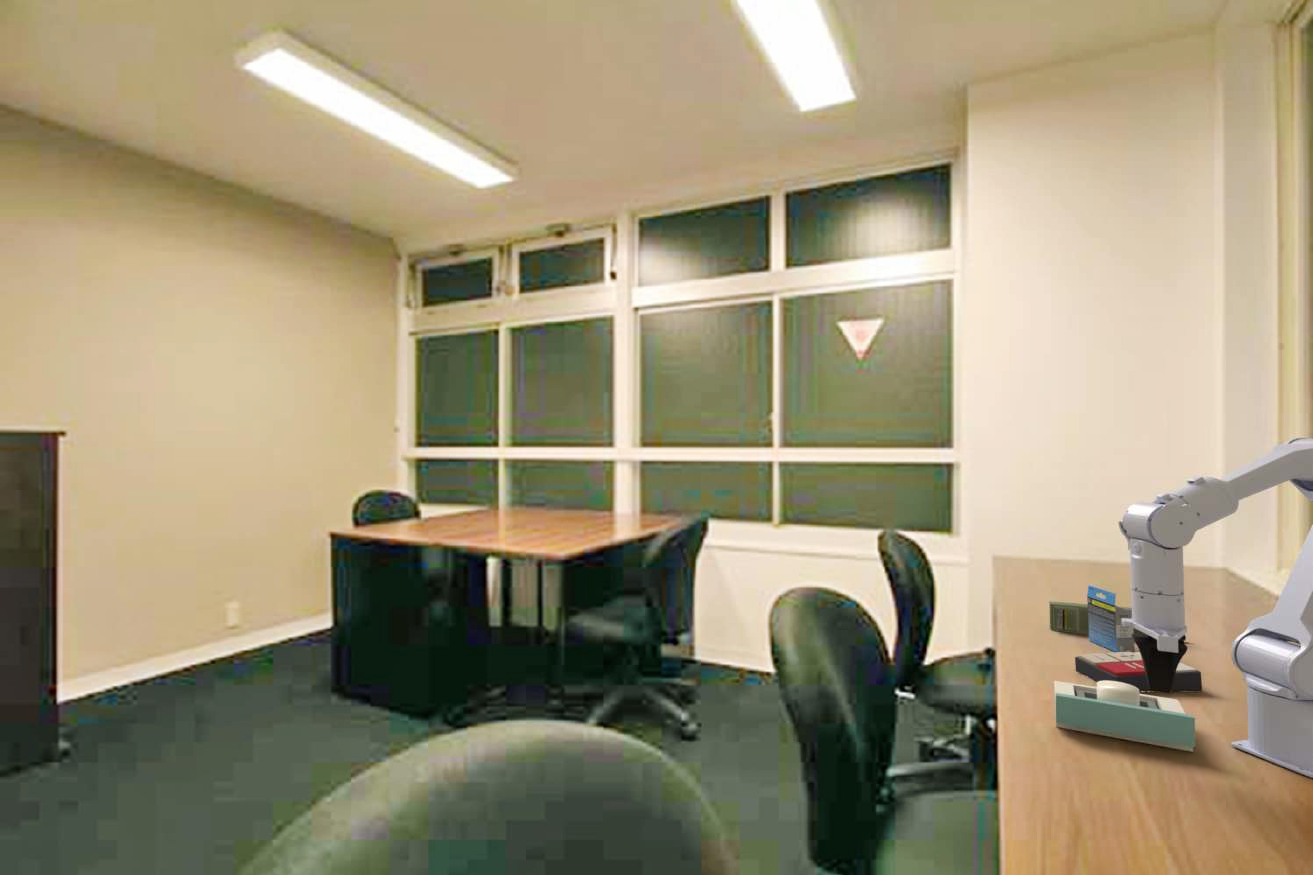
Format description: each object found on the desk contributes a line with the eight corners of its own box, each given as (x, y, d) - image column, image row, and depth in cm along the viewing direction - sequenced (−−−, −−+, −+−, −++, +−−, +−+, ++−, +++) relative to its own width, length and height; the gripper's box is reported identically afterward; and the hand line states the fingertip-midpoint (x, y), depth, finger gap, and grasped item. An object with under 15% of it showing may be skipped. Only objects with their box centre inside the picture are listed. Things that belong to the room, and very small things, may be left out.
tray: (1054, 697, 104) (1054, 672, 104) (1179, 718, 96) (1178, 690, 96) (1056, 723, 95) (1055, 695, 95) (1195, 748, 87) (1194, 717, 87)
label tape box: (1135, 653, 130) (1134, 593, 130) (1115, 653, 130) (1114, 593, 130) (1105, 640, 139) (1104, 584, 139) (1086, 640, 139) (1085, 584, 139)
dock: (1054, 701, 105) (1054, 680, 106) (1178, 722, 97) (1177, 699, 97) (1056, 726, 96) (1055, 703, 96) (1193, 751, 88) (1192, 726, 88)
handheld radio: (1049, 628, 149) (1182, 640, 139) (1051, 632, 146) (1187, 645, 136) (1048, 600, 149) (1182, 610, 139) (1051, 603, 146) (1187, 614, 136)
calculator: (1073, 652, 121) (1152, 647, 121) (1074, 675, 121) (1154, 670, 121) (1115, 672, 110) (1202, 667, 110) (1116, 697, 110) (1204, 692, 110)
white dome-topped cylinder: (1148, 718, 94) (1148, 691, 94) (1120, 722, 93) (1120, 694, 93) (1116, 705, 99) (1115, 679, 99) (1088, 708, 98) (1088, 682, 98)
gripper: (1115, 578, 96) (1117, 669, 95) (1128, 598, 83) (1130, 703, 83) (1174, 583, 92) (1177, 677, 92) (1198, 604, 80) (1201, 714, 79)
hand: (1159, 690), depth 87 cm, fingers closed
